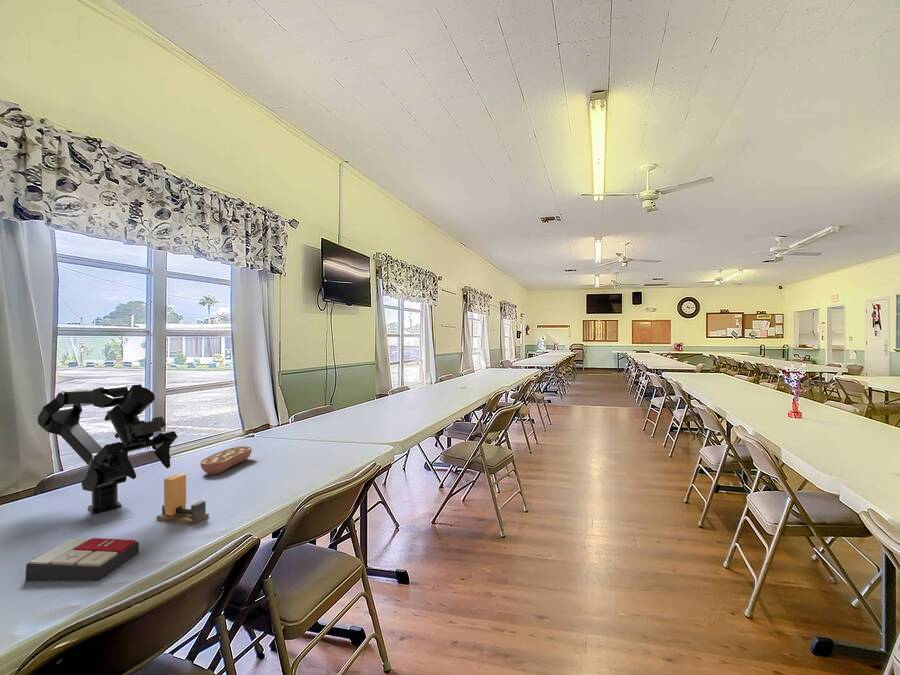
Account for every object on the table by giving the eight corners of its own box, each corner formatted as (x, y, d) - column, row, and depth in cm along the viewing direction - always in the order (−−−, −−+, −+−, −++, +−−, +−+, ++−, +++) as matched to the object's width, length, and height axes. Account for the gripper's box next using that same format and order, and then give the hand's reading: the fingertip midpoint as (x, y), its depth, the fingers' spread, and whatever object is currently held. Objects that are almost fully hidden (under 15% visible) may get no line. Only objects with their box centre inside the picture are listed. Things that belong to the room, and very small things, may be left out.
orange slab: (164, 514, 112) (164, 478, 112) (179, 508, 116) (178, 473, 116) (171, 515, 111) (171, 479, 111) (186, 509, 115) (185, 474, 115)
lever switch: (156, 519, 112) (156, 502, 112) (173, 512, 117) (173, 495, 117) (192, 525, 109) (192, 507, 109) (208, 517, 114) (208, 500, 114)
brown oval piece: (218, 478, 145) (218, 464, 145) (192, 477, 147) (192, 463, 146) (256, 459, 168) (256, 446, 168) (233, 458, 169) (233, 446, 169)
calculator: (99, 564, 84) (24, 560, 84) (99, 585, 84) (23, 582, 84) (140, 537, 95) (73, 534, 95) (139, 556, 95) (73, 553, 95)
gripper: (106, 414, 106) (133, 467, 103) (176, 403, 124) (200, 447, 121) (83, 438, 109) (108, 490, 106) (154, 424, 127) (178, 468, 124)
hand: (152, 472), depth 114 cm, fingers open, 9 cm apart
